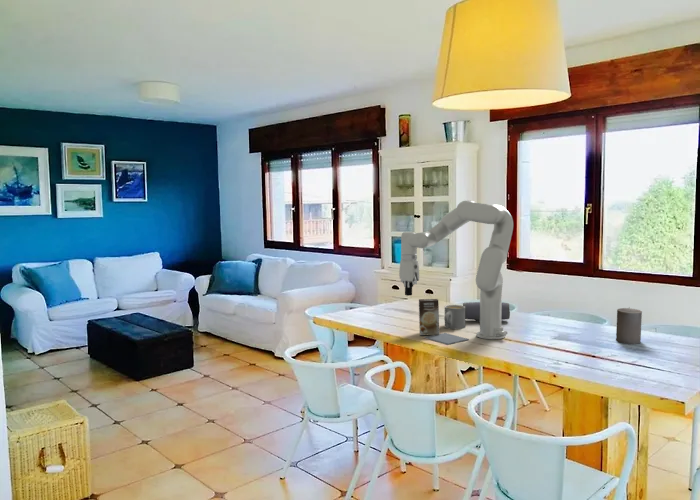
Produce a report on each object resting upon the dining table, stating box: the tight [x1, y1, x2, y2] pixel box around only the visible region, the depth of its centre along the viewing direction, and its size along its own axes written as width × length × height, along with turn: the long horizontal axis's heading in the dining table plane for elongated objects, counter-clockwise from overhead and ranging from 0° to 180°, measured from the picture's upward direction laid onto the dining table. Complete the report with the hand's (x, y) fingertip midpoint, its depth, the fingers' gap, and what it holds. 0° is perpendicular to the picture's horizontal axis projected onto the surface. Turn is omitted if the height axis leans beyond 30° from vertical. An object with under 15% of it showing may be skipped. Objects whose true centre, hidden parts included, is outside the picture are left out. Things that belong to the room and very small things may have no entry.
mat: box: [424, 332, 470, 346], centre depth 250 cm, size 15×13×1 cm
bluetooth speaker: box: [462, 301, 511, 323], centre depth 285 cm, size 23×9×10 cm, turn 84°
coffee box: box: [418, 298, 440, 336], centre depth 258 cm, size 9×6×16 cm
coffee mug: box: [443, 304, 466, 330], centre depth 272 cm, size 13×10×10 cm
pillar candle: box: [615, 307, 643, 345], centre depth 240 cm, size 10×10×15 cm
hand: (408, 295), depth 269 cm, fingers closed
